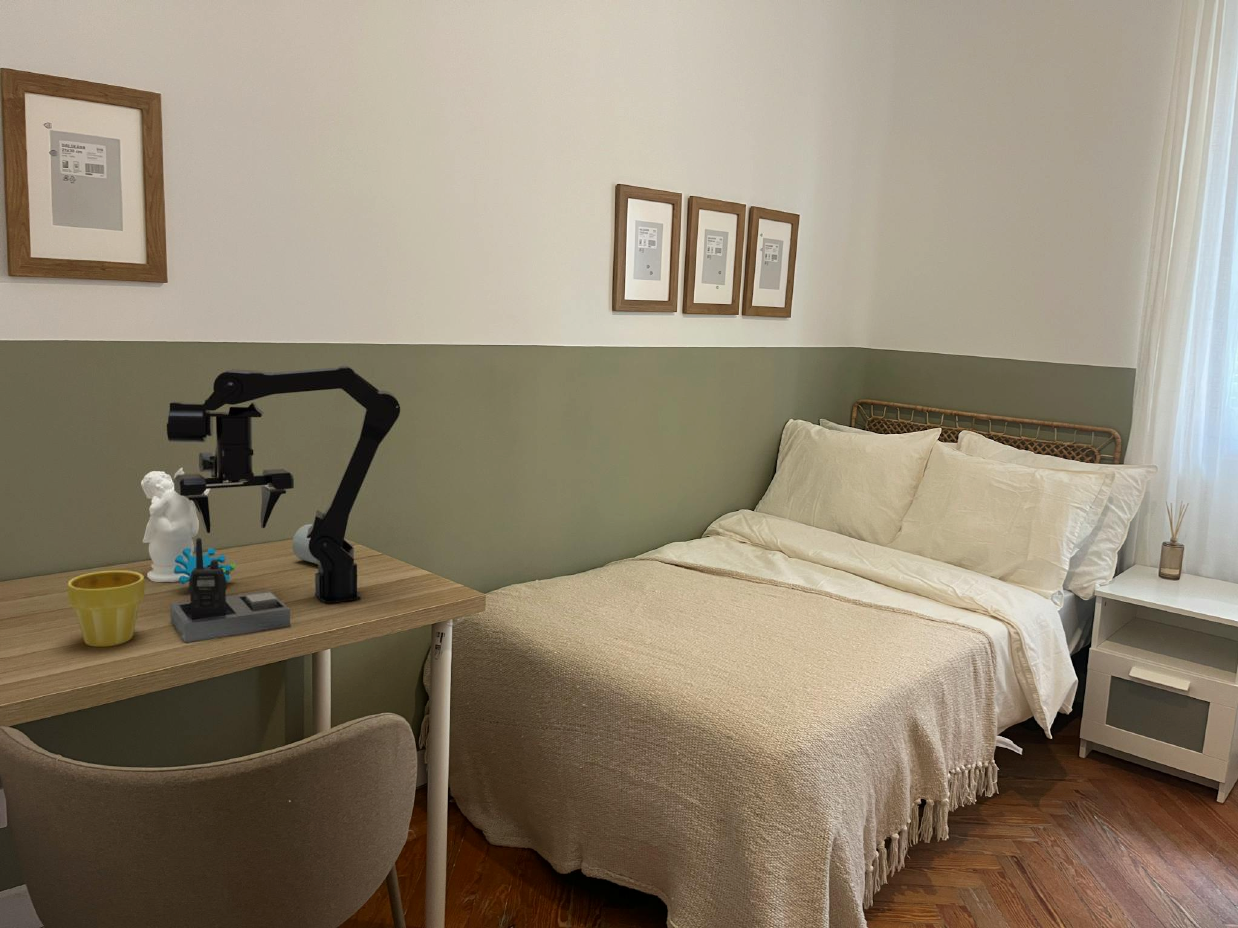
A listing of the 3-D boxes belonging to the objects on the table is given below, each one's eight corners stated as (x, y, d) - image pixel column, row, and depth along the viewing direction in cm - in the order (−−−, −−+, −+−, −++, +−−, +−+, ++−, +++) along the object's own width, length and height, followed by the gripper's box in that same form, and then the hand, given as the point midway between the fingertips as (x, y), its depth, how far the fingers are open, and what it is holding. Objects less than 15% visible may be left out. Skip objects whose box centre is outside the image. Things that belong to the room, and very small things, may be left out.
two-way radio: (188, 630, 150) (185, 540, 148) (194, 621, 155) (191, 533, 152) (225, 629, 152) (222, 539, 149) (230, 620, 156) (227, 533, 154)
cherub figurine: (137, 575, 180) (131, 462, 177) (200, 564, 189) (196, 457, 186) (165, 587, 172) (160, 470, 169) (229, 575, 182) (226, 464, 179)
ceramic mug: (316, 569, 188) (316, 532, 187) (291, 562, 193) (291, 526, 192) (358, 561, 197) (358, 525, 196) (333, 554, 201) (333, 519, 200)
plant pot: (135, 650, 141) (133, 587, 139) (60, 652, 139) (56, 589, 137) (154, 627, 151) (151, 569, 149) (84, 630, 149) (81, 570, 147)
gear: (180, 590, 166) (171, 543, 171) (170, 607, 169) (162, 560, 174) (242, 588, 174) (232, 543, 178) (231, 604, 177) (222, 560, 182)
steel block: (270, 614, 160) (270, 592, 159) (277, 621, 157) (276, 598, 156) (246, 618, 158) (245, 595, 157) (252, 625, 154) (252, 601, 154)
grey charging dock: (270, 606, 164) (269, 590, 163) (290, 626, 154) (289, 608, 154) (170, 620, 155) (170, 603, 154) (185, 642, 145) (184, 623, 144)
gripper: (275, 434, 174) (276, 516, 176) (166, 438, 163) (168, 525, 165) (294, 442, 165) (295, 528, 167) (179, 447, 154) (182, 539, 156)
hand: (235, 530), depth 164 cm, fingers open, 9 cm apart
